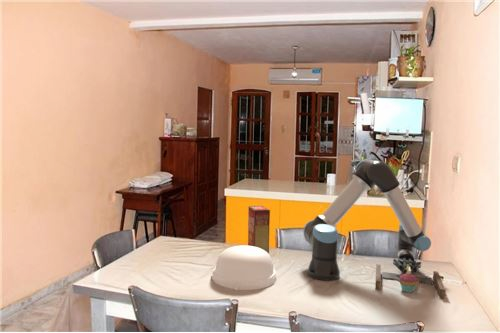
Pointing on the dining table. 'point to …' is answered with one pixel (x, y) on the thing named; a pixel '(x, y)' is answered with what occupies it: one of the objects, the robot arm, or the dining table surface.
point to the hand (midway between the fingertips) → (409, 273)
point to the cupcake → (408, 281)
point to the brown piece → (423, 280)
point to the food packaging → (258, 227)
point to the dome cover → (244, 268)
